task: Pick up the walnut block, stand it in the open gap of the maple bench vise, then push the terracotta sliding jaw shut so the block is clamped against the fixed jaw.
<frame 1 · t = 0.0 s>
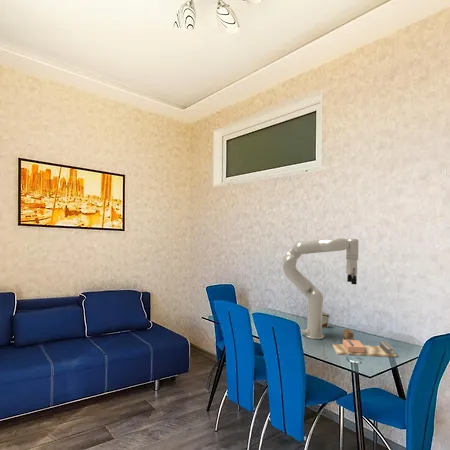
hand: (351, 282, 228), 37 cm above the table, tool pointing down, fingers open, 9 cm apart
sliding jaw: (353, 344, 205), point 4 cm above the table, slide at 8.0 cm
vise: (363, 351, 204), on the table
walnut block: (348, 342, 221), on the table
food container: (320, 326, 253), on the table
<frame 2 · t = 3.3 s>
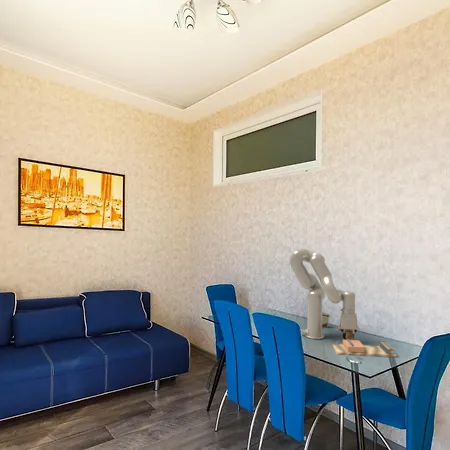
hand: (348, 339, 220), 2 cm above the table, tool pointing down, fingers closed on walnut block, 4 cm apart
walnut block: (348, 341, 220), on the table, touching gripper
everything else where it was.
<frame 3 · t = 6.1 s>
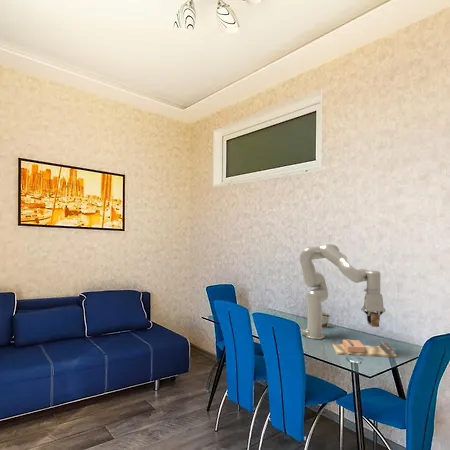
hand: (373, 321, 204), 18 cm above the table, tool pointing down, fingers closed on walnut block, 4 cm apart
walnut block: (373, 324, 204), point 16 cm above the table, touching gripper
everything else where it was.
when the fingers open (4 cm above the table, at t = 9.0 s): walnut block drops 1 cm, resting on vise.
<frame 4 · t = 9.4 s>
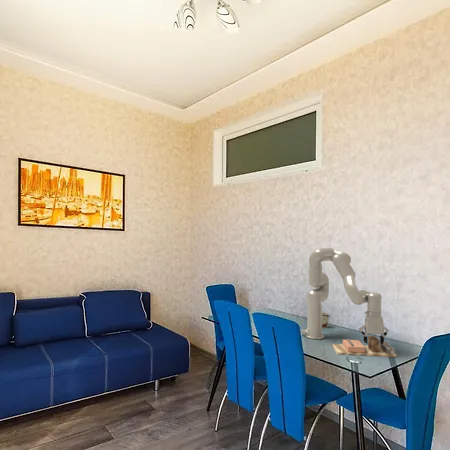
hand: (373, 342, 204), 5 cm above the table, tool pointing down, fingers open, 8 cm apart
walnut block: (373, 349, 204), point 1 cm above the table, touching vise
everything else where it was.
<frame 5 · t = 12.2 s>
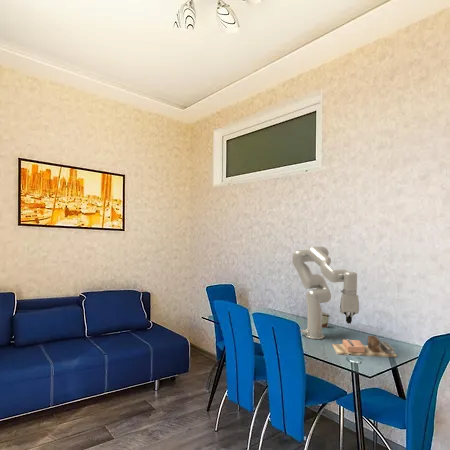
hand: (348, 322, 205), 17 cm above the table, tool pointing down, fingers closed
nothing on the table moved.
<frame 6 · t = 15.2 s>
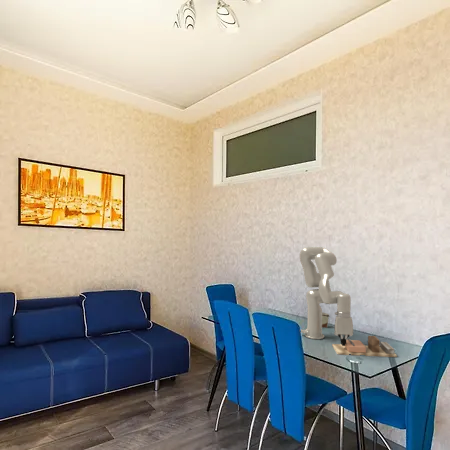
hand: (343, 345, 205), 3 cm above the table, tool pointing down, fingers closed
sliding jaw: (354, 344, 205), point 4 cm above the table, slide at 7.4 cm, touching gripper
everything else where it was.
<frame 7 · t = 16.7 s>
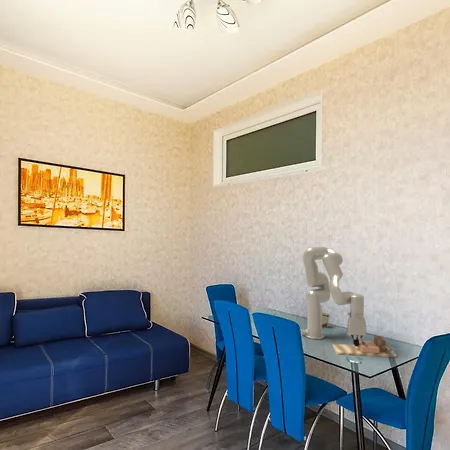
hand: (356, 345, 204), 3 cm above the table, tool pointing down, fingers closed
sliding jaw: (367, 345, 204), point 4 cm above the table, slide at 0.0 cm, touching gripper, walnut block
walnut block: (379, 350, 203), point 1 cm above the table, touching sliding jaw, vise
everything else where it was.
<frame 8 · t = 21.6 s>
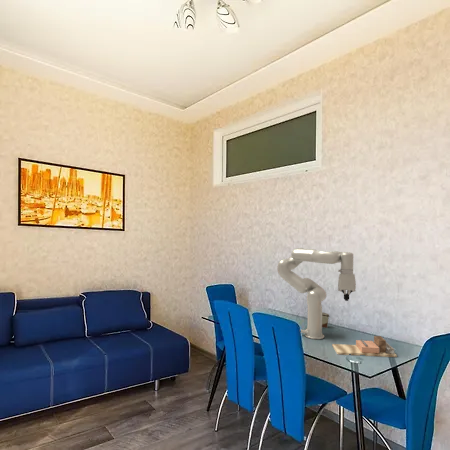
hand: (346, 300, 219), 27 cm above the table, tool pointing down, fingers closed
sliding jaw: (367, 345, 204), point 4 cm above the table, slide at 0.0 cm
walnut block: (379, 350, 203), point 1 cm above the table, touching vise
everything else where it was.
at the end: sliding jaw slide at 0.0 cm; walnut block 0.1 cm from the target spot, point 1.2 cm above the table; walnut block tilted 0° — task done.
